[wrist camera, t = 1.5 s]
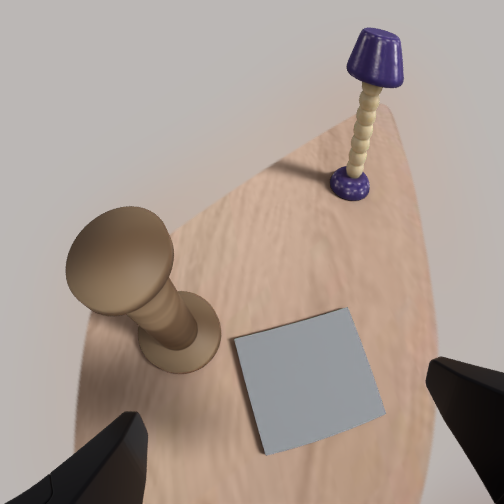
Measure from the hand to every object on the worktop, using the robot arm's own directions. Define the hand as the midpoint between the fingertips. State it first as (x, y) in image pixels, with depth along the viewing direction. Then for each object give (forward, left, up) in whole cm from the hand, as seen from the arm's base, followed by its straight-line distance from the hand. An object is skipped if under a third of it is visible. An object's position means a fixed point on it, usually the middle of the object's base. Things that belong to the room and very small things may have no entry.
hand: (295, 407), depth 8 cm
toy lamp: (+19, -13, -13) cm, 27 cm away
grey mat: (+2, -3, -13) cm, 14 cm away
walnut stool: (+8, +6, -13) cm, 16 cm away
